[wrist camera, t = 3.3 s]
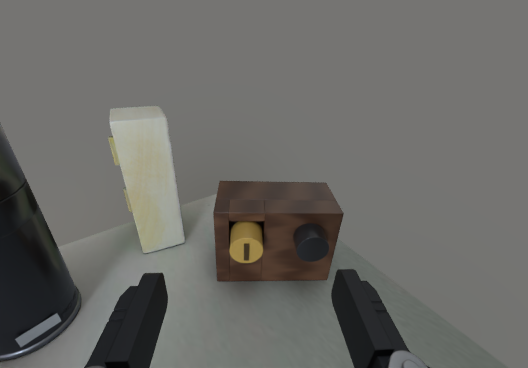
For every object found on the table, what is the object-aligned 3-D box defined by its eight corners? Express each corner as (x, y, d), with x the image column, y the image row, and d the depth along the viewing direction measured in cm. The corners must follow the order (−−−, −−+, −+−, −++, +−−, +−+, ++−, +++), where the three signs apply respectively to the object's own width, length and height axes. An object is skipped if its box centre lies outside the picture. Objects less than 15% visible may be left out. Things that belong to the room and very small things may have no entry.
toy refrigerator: (134, 226, 45) (104, 107, 35) (176, 217, 48) (160, 104, 38) (137, 256, 39) (102, 122, 29) (185, 243, 42) (169, 118, 32)
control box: (215, 298, 34) (210, 226, 28) (222, 242, 43) (219, 180, 37) (332, 296, 35) (351, 227, 29) (314, 242, 44) (326, 182, 38)
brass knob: (229, 265, 30) (228, 240, 28) (231, 243, 34) (230, 219, 32) (262, 265, 30) (264, 240, 29) (261, 243, 34) (262, 219, 32)
